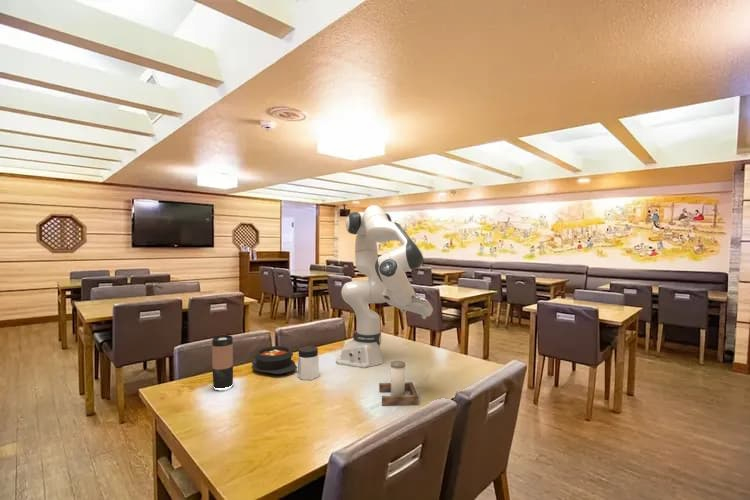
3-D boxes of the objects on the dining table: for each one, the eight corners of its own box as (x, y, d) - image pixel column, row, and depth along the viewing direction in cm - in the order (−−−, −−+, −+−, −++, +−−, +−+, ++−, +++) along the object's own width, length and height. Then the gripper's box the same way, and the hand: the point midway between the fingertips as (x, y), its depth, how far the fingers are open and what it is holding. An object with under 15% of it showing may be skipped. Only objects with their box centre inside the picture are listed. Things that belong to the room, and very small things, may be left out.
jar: (320, 378, 157) (320, 350, 156) (301, 381, 153) (301, 353, 153) (314, 371, 165) (314, 344, 165) (296, 374, 161) (296, 347, 161)
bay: (382, 405, 132) (382, 397, 132) (379, 390, 145) (379, 383, 145) (418, 404, 133) (418, 396, 132) (412, 389, 146) (412, 382, 145)
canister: (389, 399, 137) (389, 364, 136) (392, 393, 142) (392, 359, 141) (403, 401, 135) (403, 366, 135) (406, 395, 141) (406, 361, 140)
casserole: (307, 370, 166) (307, 352, 166) (269, 382, 153) (269, 362, 153) (277, 357, 184) (277, 341, 184) (241, 367, 171) (241, 349, 170)
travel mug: (237, 385, 149) (237, 336, 149) (222, 393, 142) (221, 341, 142) (223, 382, 153) (222, 334, 152) (208, 389, 146) (207, 339, 145)
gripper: (429, 293, 137) (440, 314, 145) (386, 282, 149) (398, 302, 158) (421, 306, 134) (432, 328, 142) (378, 294, 147) (390, 314, 155)
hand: (414, 314), depth 150 cm, fingers open, 8 cm apart
